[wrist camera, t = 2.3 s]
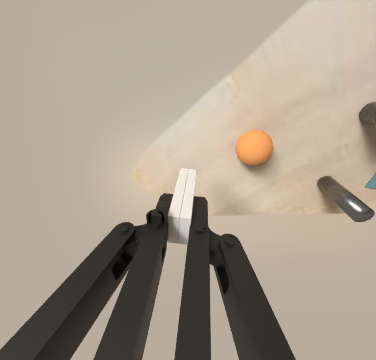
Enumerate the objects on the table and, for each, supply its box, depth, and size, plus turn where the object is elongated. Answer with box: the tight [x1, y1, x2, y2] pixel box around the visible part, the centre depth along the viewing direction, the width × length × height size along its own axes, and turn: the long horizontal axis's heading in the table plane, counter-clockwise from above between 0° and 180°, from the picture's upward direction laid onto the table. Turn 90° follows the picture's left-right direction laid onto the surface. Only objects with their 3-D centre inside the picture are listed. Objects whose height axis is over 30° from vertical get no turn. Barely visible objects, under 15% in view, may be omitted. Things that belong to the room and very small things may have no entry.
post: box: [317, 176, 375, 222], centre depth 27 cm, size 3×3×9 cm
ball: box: [236, 130, 273, 165], centre depth 26 cm, size 6×6×6 cm
